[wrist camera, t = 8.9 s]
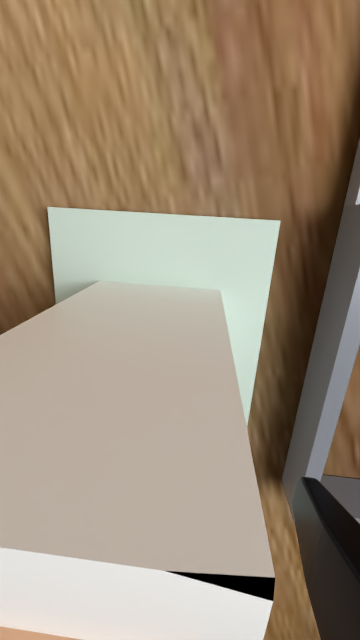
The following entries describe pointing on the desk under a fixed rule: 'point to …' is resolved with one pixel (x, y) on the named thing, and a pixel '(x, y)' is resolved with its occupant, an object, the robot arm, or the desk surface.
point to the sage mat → (174, 265)
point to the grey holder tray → (331, 363)
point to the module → (128, 473)
